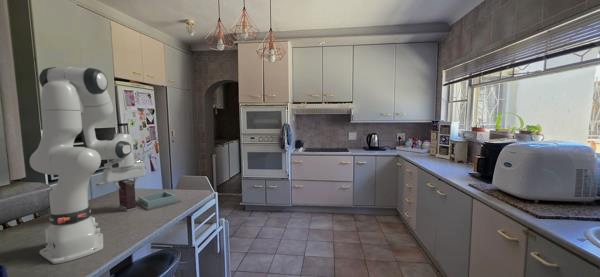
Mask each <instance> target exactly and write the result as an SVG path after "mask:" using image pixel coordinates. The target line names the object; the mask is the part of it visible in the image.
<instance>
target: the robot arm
mask: <svg viewBox="0 0 600 277" xmlns="http://www.w3.org/2000/svg"><path fill="white" fill-rule="evenodd" d="M38 81H39V83H40V84H39V85H40V86H41V87H42V91H41V98H40V107H41V109H40V110H41V120H42V121H41V123H42V124H41V126H42V133H41V138H40V142H39V144H38V147H37V148H36V149H35V151H34V152H33V153H32V154H31V155H30V157H29V165H30V167H31V169H33V170H34V171H36V172H38V173H41V174H44V175H50V176H51V175H52V176H58V179H57V183H56V185H55V187H54V188H53V189H51V191H50V192H49V195H48V196H49V207H50V213H49V217H48V218H49V223H50V225H49V226H48V227H47V228H46V229H45V230H44V231H45V232H44V234H45V248H42V249H41V250H39V255H41V257H43V258H44V259H46V260H48V261H49V262H50V263H52V264H53V265H54V264H63V263H67V262H70V261H74V260H77V259H80V258H84V257H87V256H89V255H92V254H95V253H97V252H99V251H101V250H103V249H104V234H103V233H101V227H98V226H99V224H98V222H96V218H95V217H93V216H92V210H91V206H90V205H89V193H88V192H89V190H88V189H89V184H90V180H91V178H92V175H93V174H94V173H95V172H96V171H97V170H98V169H99V168H100V166H101V163H102V160H103V161H104V160H106V161H107V160H111V161H109V162H107V163H104V165H103V166H104V168H105V169H103V172H102V181H103V182H104V183H105V184H111V183H113V184H114V186H115V187H116V190H119V189H121V186H120V185H118V183H119V182H118V181H121V180H127V179H128V180H132V179H133V181H134V185H135V187H136V186H137V185H136V184H137V182H138V179H139V178H141V177H145V176H146V174H147V170H146V162H145V161H144V160H140V159H139V160H135V154H134V141H133V137H132V135H131V134H130V133H126V132H118V133H117V132H116V133H114V135H113V136H114V137H113V138H112V140H99V139H98V138H97V136H96V130H95V125H97V124H98V123H101V122H104V121H105V120H107V119H109V118H110V117H111V116H112V114H113V113H114V105H113V102H112V99H111V97H110V94H109V92H108V90H107V88H108V86H109V84H108V78H107V76H106V75H105V73H104V72H103V71H101V70H100V69H97V68H93V67H88V68H87V67H75V66H59V67H56V66H52V67H46V68H43V69H42V70H41V72H40V73H39V77H38ZM81 106H82V108H81ZM79 134H81V140H82V143H83V146H74V143H75V140H76V137H77V136H78V135H79ZM96 227H97V228H96Z"/></svg>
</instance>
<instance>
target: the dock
mask: <svg viewBox="0 0 600 277" xmlns="http://www.w3.org/2000/svg"><path fill="white" fill-rule="evenodd" d="M135 201H136V205H138V206H140V207H141V208H143V209H144V210H146V211H152V210H156V209H159V208H163V207H164V208H165V207H167V206H172V205H176V204H178V203H179V204H180V203H182V200H181V199H180V198H177V195H176V194H174V193H171V192H169V191H166V190H165V191H160V192H154V193H150V194H146V195H141V196H138V199H135Z"/></svg>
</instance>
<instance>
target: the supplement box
mask: <svg viewBox="0 0 600 277" xmlns="http://www.w3.org/2000/svg"><path fill="white" fill-rule="evenodd" d="M118 182H119V183H117V184H118V185H120V186H121V189H118V198H119V209H120V210H122V211H126V212H129V211H133V210H136V209H137V206H136V205H137V204H136V201H135V200H136V189H135V187H136V186H135V185H134V180H132V179H127V180H121V181H118Z"/></svg>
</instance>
